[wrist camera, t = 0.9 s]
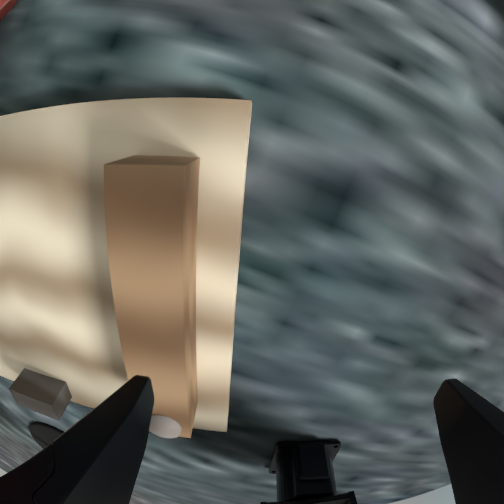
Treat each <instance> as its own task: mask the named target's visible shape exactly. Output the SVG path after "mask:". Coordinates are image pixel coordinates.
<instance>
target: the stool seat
mask: <svg viewBox="0 0 504 504" xmlns="http://www.w3.org/2000/svg"><path fill="white" fill-rule="evenodd" d="M251 111H252V101H251V100H238V99H220V98H136V99H118V100H105V101H94V102H84V103H75V104H67V105H59V106H52V107H46V108H40V109H34V110H28V111H23V112H18V113H13V114H8V115H3V116H0V376H2V377H5V378H7V379H10V380H12V381H14V383H13V384H12V385H11V387H10V388H9V390H10V392H11V394H12V396H13V398H14V399H15V401H16V403H17V404H18V405H21V406H23V407H26V408H28V409H30V410H33V411H35V412H38V413H41V414H43V415H46V416H48V417H51V418H54V419H57V420H60V418H61V416H62V414H63V413H64V411H65V409H66V407H67V405H68V403H69V402H70V401H71V402H74V403H77V404H81V405H84V406H88V407H91V408H96V407H97V406H98V405H99V404H100V403H102V402H103V401H104V400H105V399H107V398H108V397H109V396H110V395H111V394H113V393H114V392H115V391H116V390H118V389H119V388H120V387H121V386H122V385H124V384H125V383H126V382H127V381H128V377H127V373H126V368H125V364H124V359H123V354H122V349H121V343H120V338H119V332H118V326H117V320H116V314H115V307H114V301H113V293H112V286H111V277H110V268H109V259H108V248H107V236H106V221H105V201H104V164H107V163H110V162H113V161H117V160H120V159H123V158H127V157H130V156H133V155H147V156H182V157H200V167H199V187H198V211H197V244H196V361H197V393H198V403H197V408H196V413H195V419H194V424H193V428H195V429H203V430H212V431H221V432H227V423H228V412H229V396H230V381H231V366H232V351H233V336H234V322H235V308H236V294H237V281H238V267H239V254H240V241H241V229H242V216H243V204H244V192H245V180H246V168H247V156H248V144H249V133H250V122H251Z"/></svg>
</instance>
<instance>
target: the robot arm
mask: <svg viewBox="0 0 504 504" xmlns="http://www.w3.org/2000/svg"><path fill="white" fill-rule="evenodd" d="M153 406H154V392H153V387H152V382H151V379H150V377H148V376H142V375H135V376H133V377H132V378H131V379H130V380H129V381H127V382H126V383H125V384H124V385H122V386H121V387H120V388H119V389H118V390H116V391H115V392H114V393H113V394H111V395H110V396H109V397H108V398H107V399H105V400H104V401H103V402H102V403H100V404H99V405H98V406H97V407H96V408H94V409H93V410H92V411H91V412H89V413H88V414H87V415H86V416H84V417H83V418H82V419H81V420H79V421H78V422H77V423H76V424H74V425H73V426H72V427H71V428H69V429H68V430H67V431H66V432H64V433H63V434H62V435H61V436H59V437H58V438H57V439H56V440H54V441H53V442H52V444H49V445H48V446H47V447H45V448H44V449H43V450H42V451H40V452H39V453H37V454H36V455H35V456H33V457H32V458H31V459H29V460H28V461H26V462H25V463H23V464H21V465H20V466H18V467H17V468H15V469H13V470H12V471H10V472H8V473H7V474H5V475H3V476H2V477H0V504H129V502H130V498H131V495H132V491H133V488H134V485H135V481H136V478H137V475H138V472H139V468H140V465H141V462H142V459H143V455H144V452H145V448H146V444H147V439H148V433H149V428H150V422H151V417H152V412H153ZM434 409H435V414H436V419H437V424H438V430H439V436H440V441H441V445H442V449H443V453H444V456H445V460H446V464H447V468H448V472H449V476H450V480H451V484H452V489H453V493H454V498H455V502H456V504H504V412H503V411H501V410H500V409H499V408H497V407H496V406H494V405H493V404H491V403H490V402H489V401H487V400H486V399H484V398H483V397H481V396H480V395H479V394H477V393H476V392H474V391H473V390H471V389H470V388H469V387H467V386H466V385H464V384H463V383H461V382H460V381H459V380H457V379H448V380H445V381H444V382H443V383H442V385H441V386H440V388H439V390H438V392H437V394H436V395H435V397H434ZM340 447H341V442H340V441H323V442H278V443H277V444H276V446H275V450H274V453H273V457H272V460H271V464H270V467H269V473H271V474H276V478H277V502H270V503H267V502H261V504H357V501H356V497H355V494H354V491H350V492H348V493H344V494H338V495H337V490H336V484H335V478H334V471H333V465H332V461H333V460H334V458H335V456H336V454H337V453H338V451H339V449H340Z"/></svg>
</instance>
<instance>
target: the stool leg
mask: <svg viewBox="0 0 504 504" xmlns="http://www.w3.org/2000/svg"><path fill="white" fill-rule="evenodd" d="M199 167H200V157H182V156H147V155H133V156H130V157H127V158H123V159H120V160H117V161H113V162H110V163H107V164H104V201H105V221H106V236H107V248H108V259H109V268H110V277H111V286H112V293H113V301H114V307H115V314H116V320H117V326H118V332H119V338H120V343H121V349H122V354H123V359H124V364H125V368H126V373H127V377H128V381H129V380H130V379H131V378H132V377H133V376H135V375H142V376H148V377H150V379H151V382H152V387H153V392H154V406H153V412H152V417H151V422H150V428H149V431H150V432H152V433H153V434H155V435H157V436H160V437H163V438H176V437H178V436H179V437H186V438H191V434H192V429H193V424H194V419H195V413H196V408H197V403H198V393H197V361H196V244H197V211H198V187H199Z"/></svg>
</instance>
